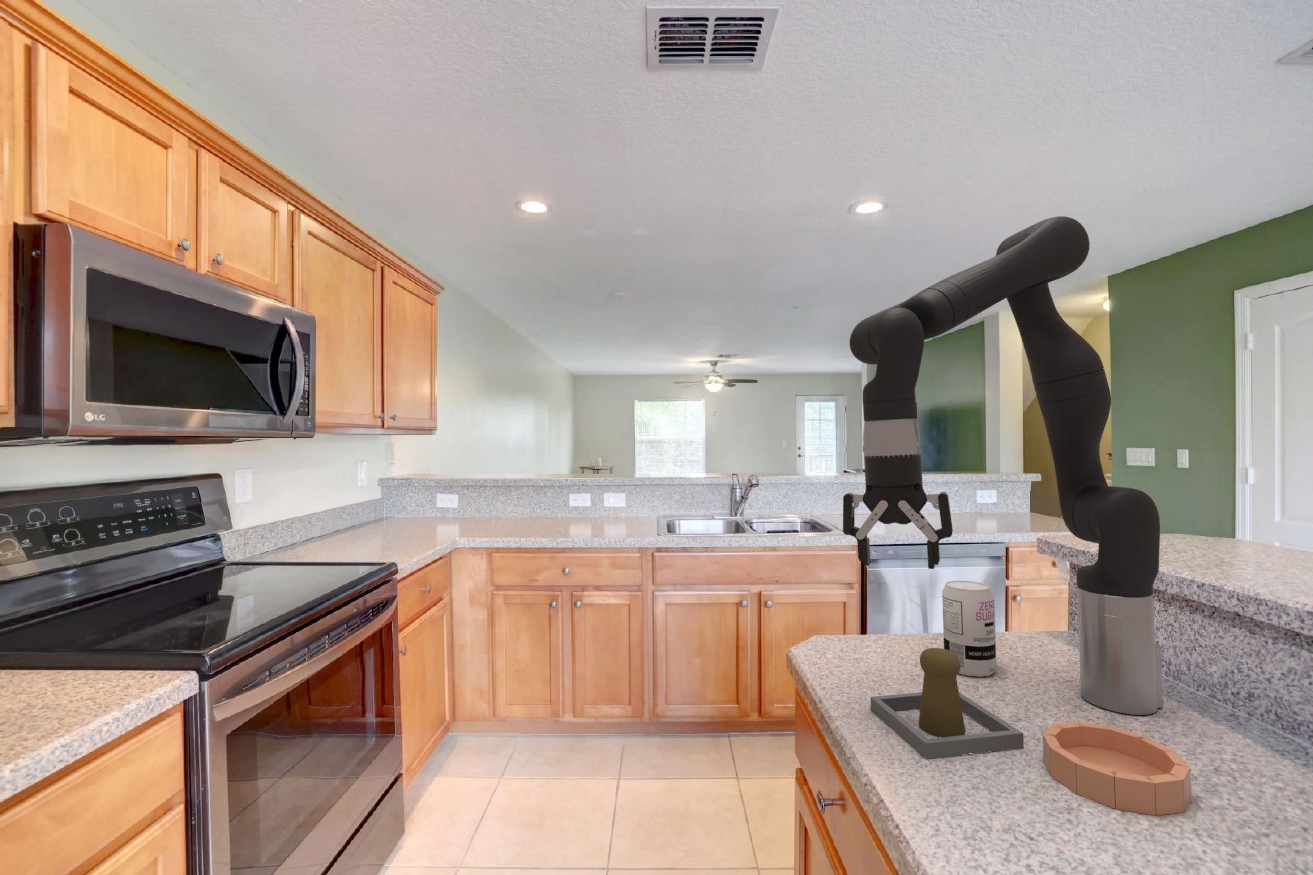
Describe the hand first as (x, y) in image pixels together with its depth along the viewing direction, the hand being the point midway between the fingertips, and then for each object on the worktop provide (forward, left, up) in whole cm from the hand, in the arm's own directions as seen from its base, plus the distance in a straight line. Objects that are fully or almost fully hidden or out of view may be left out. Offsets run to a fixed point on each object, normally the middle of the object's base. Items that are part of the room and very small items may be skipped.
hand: (898, 566), depth 81 cm
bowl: (-18, +15, -23) cm, 33 cm away
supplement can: (-24, -18, -24) cm, 38 cm away
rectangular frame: (-6, 0, -23) cm, 24 cm away
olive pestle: (-6, 0, -24) cm, 24 cm away
